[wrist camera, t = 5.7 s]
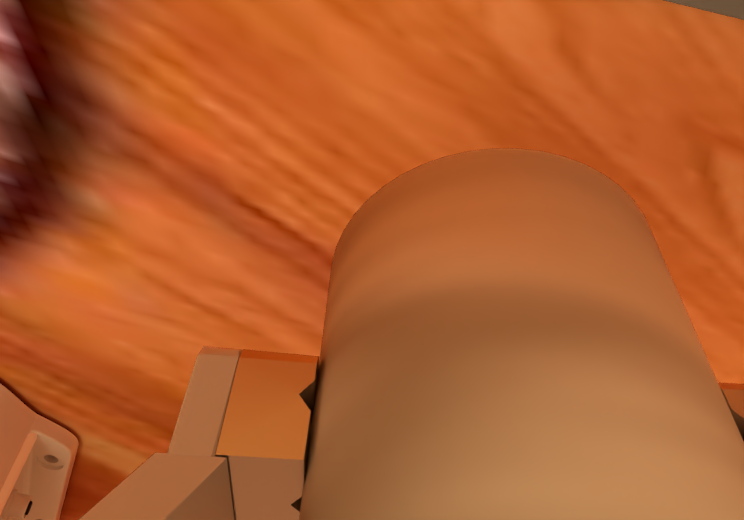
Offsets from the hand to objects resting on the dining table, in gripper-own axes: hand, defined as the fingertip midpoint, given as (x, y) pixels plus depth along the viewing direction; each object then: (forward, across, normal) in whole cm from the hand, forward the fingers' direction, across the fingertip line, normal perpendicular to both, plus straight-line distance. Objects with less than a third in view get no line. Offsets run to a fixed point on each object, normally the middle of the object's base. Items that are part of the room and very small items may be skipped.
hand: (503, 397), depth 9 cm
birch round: (+2, 0, 0) cm, 2 cm away
